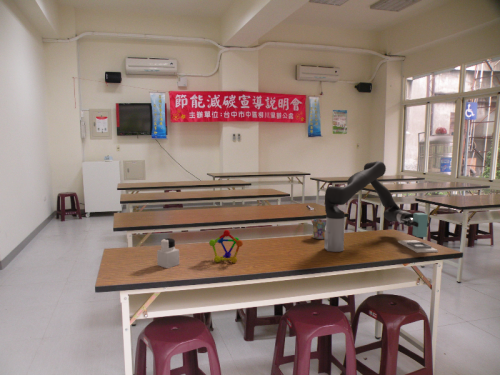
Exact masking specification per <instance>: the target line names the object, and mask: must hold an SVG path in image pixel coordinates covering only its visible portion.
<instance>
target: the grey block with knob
mask: <svg viewBox="0 0 500 375" xmlns="http://www.w3.org/2000/svg"><path fill="white" fill-rule="evenodd" d="M175 242H176V240H175V239H174V238H170V237H169V238H163V239H161V241H160V249H157V250H156V255H157V258H156V259H157V260H156V261H157V266H158V267H160V268H165V269H169V268H173V267H177V266H178V265H180V249H179V248H176V246H175V245H176V243H175Z"/></svg>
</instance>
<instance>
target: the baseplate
mask: <svg viewBox="0 0 500 375" xmlns="http://www.w3.org/2000/svg"><path fill="white" fill-rule="evenodd" d="M397 243H399V244H400V245H402V246H404V247H406V248H408V249H409V250H412V251H414V252H415V253H438V252H439V250H438V249H437V248H434V247H432V245H430V244H428V243H425V242H424V241H423V242H422V241H419V240H413V239H411V240H409V239H408V240H397Z"/></svg>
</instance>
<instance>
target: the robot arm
mask: <svg viewBox="0 0 500 375" xmlns="http://www.w3.org/2000/svg"><path fill="white" fill-rule="evenodd" d="M386 167H387V166H386V165H385V163H384V162H382V161H379V160H378V161H377V160H376V161H372V162H367V163H365V164H364V167H363V170H360V171H357V172H356V173H354V174H352V175H351V176H349V178H348V180H347V185H345V186H336V185H335V186H333V185H332V186H328V187H327V188H326V190H325V192H324V194H325V195H324V209H325V210H324V211H325V215H326V216H325V217H326V218H325V220H326V226H325V238H324V249H325V250H326V251H327V252H334V253H335V252H336V253H338V252H340V253H341V252H343V251H344V247H345V245H344V243H345V242H344V241H345V212H344V211H343V210H341V209H340V208H339V207H338V206H343V205H346V204H347V203H348V202H349V201H350V200H351V199H352V198H353V197H354V196H355V195H356V194H358V193H359V192H360V191H362V190H364V189H365V188H366V187H367V186H368V185H370V184H371V186H372V187H373V189H374V190H375V192H376V193H377V196H378V198H379V200H380V203H381V204H382V206H383V207H384V208H387V209H386V210H384V212H383V217H384V219H385V220H387V221H389V222H398V223H399V224H402V225H404V226H406V227H413V226H415V227H418V223H417V222H414V221H413V214H414V213H411V212H409V211H406V210H402V209H401V208H400V206H399V205H398V204H397V203H396V201H395V200H394V197H393V195H392V194H391V191H390V190H389V189H388V188H387V187H386V186H385V185H383V184H382V183H381V181H379V180H378V179H379V178H381V177H383V176H384V175H385V173H386V171H387V168H386ZM429 227H430V223H429V221H428V222H427V228H429Z"/></svg>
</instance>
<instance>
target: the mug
mask: <svg viewBox="0 0 500 375" xmlns="http://www.w3.org/2000/svg"><path fill="white" fill-rule="evenodd" d="M311 223H312V228H313V231H312V235H311V238H313V239H316V240H325V231H326V219H325V218H324V219H323V218H314V219H311Z"/></svg>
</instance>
